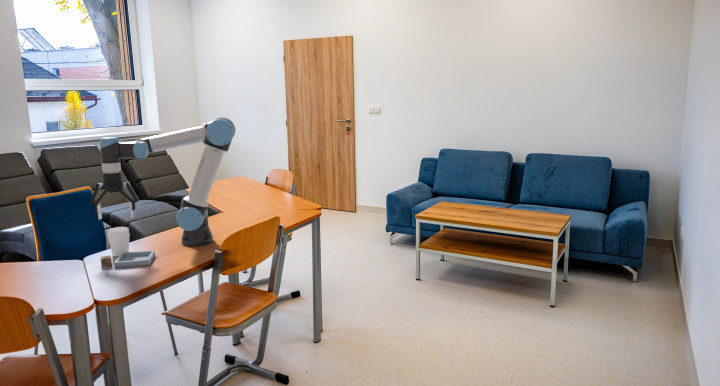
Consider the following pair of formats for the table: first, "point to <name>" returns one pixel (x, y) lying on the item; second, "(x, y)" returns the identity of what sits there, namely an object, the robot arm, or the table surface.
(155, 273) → the table surface
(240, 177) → the table surface
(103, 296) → the table surface
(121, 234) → the cup
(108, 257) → the walnut block
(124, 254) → the tray
